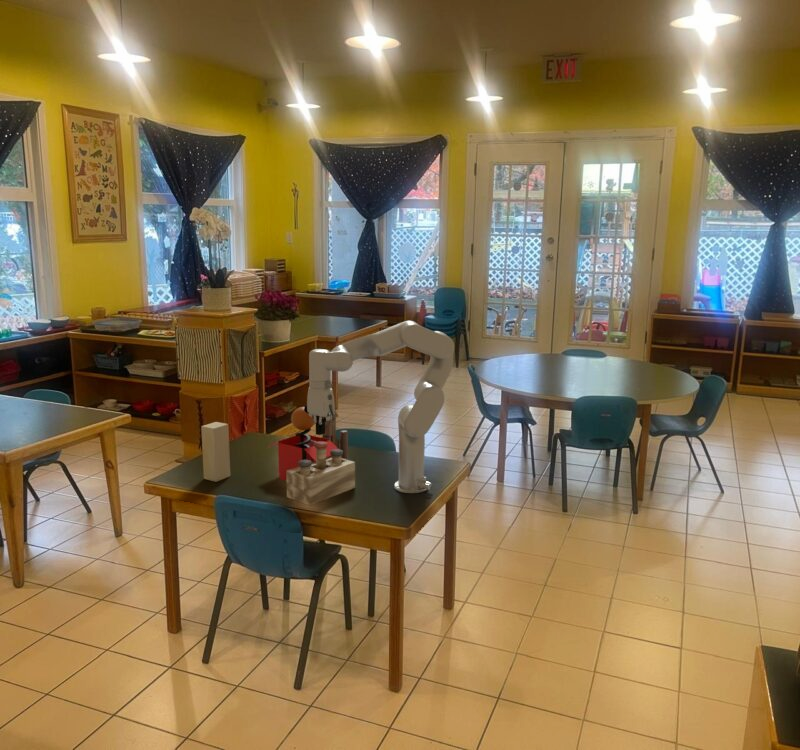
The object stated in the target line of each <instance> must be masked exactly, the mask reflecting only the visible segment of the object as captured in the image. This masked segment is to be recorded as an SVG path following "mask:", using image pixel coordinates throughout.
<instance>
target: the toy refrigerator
mask: <svg viewBox="0 0 800 750" xmlns="http://www.w3.org/2000/svg"><path fill="white" fill-rule="evenodd" d="M200 427H201V428H200V429H201V430H200V431H201V443H202V445H201V446H202V447H201V448H202V449H201V450H202V467H203V469H202V470H203V478H204V480H208V481H211V482H220V481H223V480H225V479H227V478H229V477H231V460H230V459H231V458H230V456H231V455H230V433H229V428H230V427H229V424H228V423H225V422H219V421H214V422H211V423H208V424H205V425H201V426H200Z"/></svg>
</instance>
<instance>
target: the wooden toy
mask: <svg viewBox="0 0 800 750" xmlns="http://www.w3.org/2000/svg"><path fill="white" fill-rule="evenodd" d="M338 417H339V414H338V412H337V411H336V410H335V414H334V415H332V420H330V421H327V422H326V423H325V434H322V435H321V437H320V438H324V439H329V440H330V441H331V442H332V443H333V444H334V445H335V446H336V447H337V448H338V449H340V450H342V451H343V455H341V458H343V459H346V460H349V432H348V430H346V429H345V430H344V429H343V430H340V431H339V438H338V437H337V418H338Z"/></svg>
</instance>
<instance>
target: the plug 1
mask: <svg viewBox="0 0 800 750" xmlns="http://www.w3.org/2000/svg"><path fill="white" fill-rule="evenodd" d="M298 463H299V466H300V474H301V475H304V476H306V475H309V474H310V466H311V465H312V461H311V460H300V461H299V462H298Z"/></svg>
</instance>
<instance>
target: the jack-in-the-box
mask: <svg viewBox="0 0 800 750" xmlns="http://www.w3.org/2000/svg"><path fill="white" fill-rule="evenodd" d="M290 420H291V424H292V426H293V427H295V428H296V429H297V430H299V432H296V433H295V434H294V435H292V436H290V437H287V438H284V439H281V440H278V441H276V442H274V443H272V444H270V445H269V446H268V447H267V448H266V449H268V448H271V447H275V446H277V447H278V449H277V451H278V479H280V480H282V481H286V482H287V477H286V471H287V470H290V469H293V468H296V467H299V463H298V462H299V461H300V460H311V461H312V462H314V461H316V448H315V443H316V442H327V447H326V457H328V456H331V455H330V451H331V450H334V449H338V448H337V447H336V446H335V445H334V444H333V443H332V442H331V441H330V440H329V439H324V438H321V437H320V436H315V435H311V434H308V433H309V432H311V430H312V427H314V425H315V423H314V419H313V417H311V416H309V413H308V411H307V404H306V406H300V407H297V408H296V409H295V410H294V411H293V412H292V414H291V416H290Z"/></svg>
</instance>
